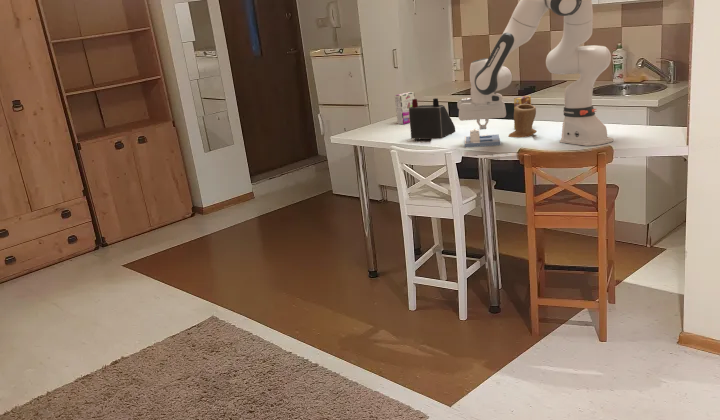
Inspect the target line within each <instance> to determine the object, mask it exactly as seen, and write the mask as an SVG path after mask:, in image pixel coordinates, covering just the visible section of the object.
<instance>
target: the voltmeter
mask: <svg viewBox="0 0 720 420" xmlns="http://www.w3.org/2000/svg"><path fill="white" fill-rule="evenodd" d="M432 101H433V102H432V105H430V104H427V105H419V104H418V99H417V98H415V99H412V107H410V108H409V117H410V123H409V126H410V127H409V129H410V139H412V140H413V139H414V141H415V142H419V141H420V139H423V140H424V139H425V140H426V139H427V140H429V139H430V140H432V139H434V140H436V139H438V140H439V139H441V140H442V139H444V138H447V137H448V136H450V135H451V136H452V135H453V134H455V133H456V126H455V124H454V122H453V120H452V118H451V116H450V114H449V112H448V109H447V108H446V106H445V105H444V104H443V105H442V104H440V103H439V99H438V97H437V98H433V99H432Z"/></svg>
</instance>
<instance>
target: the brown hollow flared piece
mask: <svg viewBox="0 0 720 420" xmlns="http://www.w3.org/2000/svg"><path fill="white" fill-rule="evenodd" d="M513 109H514V108H513ZM536 114H537V108H536V106H535V105H532V104H531V105H530V104H520V105H517V106H516V107H515V109H514V110H513V123H514V122H515V127H516V130H514V131H512V132H511V133H509V134H508V135H507V136H508V137H509V138H527V137H529V136H533V135H535V134H536V133H537V130H536V129H534V128H533V124H534V121H535V118H536Z"/></svg>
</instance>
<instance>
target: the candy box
mask: <svg viewBox="0 0 720 420" xmlns="http://www.w3.org/2000/svg"><path fill="white" fill-rule="evenodd" d="M520 104H530V105H532V96H531V95H523V96H520V97H519V96H518V97H515V98H513V106H514V107H513V109H515V107H516V106H517V105H520ZM513 123H514V124H513V127H514V128H513V129H514V131H515V130H516V127H515V122H514V121H513Z"/></svg>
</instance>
